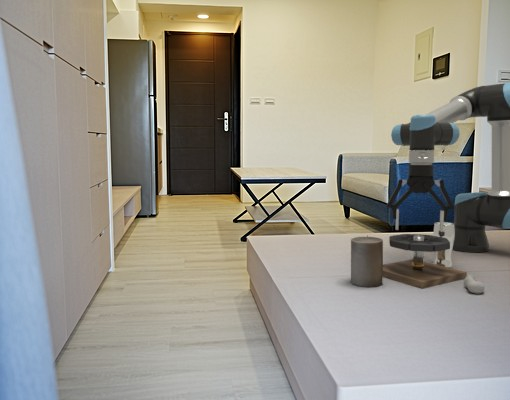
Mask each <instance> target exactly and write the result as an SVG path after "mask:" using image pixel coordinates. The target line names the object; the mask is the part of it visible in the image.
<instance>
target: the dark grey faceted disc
mask: <svg viewBox="0 0 510 400" xmlns="http://www.w3.org/2000/svg"><path fill="white" fill-rule="evenodd" d="M415 235H420V236H424V241H415V240H414V236H415ZM388 239H389V240H388V241H389V242H388V243H389V246H390V247H392V248H395V249H399V250H404V251H407V252H408V251H409V252H413V251H424V253H425V252H427V253H432V252H436V251H442V250H447V249H450V242H449V241H448V239H447V238H443V237H437V236H433V235H430V234H421V233H420V234H418V233H402V234H395V235H390V236H389V238H388Z"/></svg>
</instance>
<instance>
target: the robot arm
mask: <svg viewBox="0 0 510 400" xmlns="http://www.w3.org/2000/svg"><path fill="white" fill-rule="evenodd" d="M481 117H482V118H483V117H485V118H486V121H487V124H489V125H490V126H491V188H490V190H488V192H486V191H479V192H466V193H465V192H464V193H459V194H457V195H456V196H455V200H454V204H453V202H452V199H451V197H450V196H449V193H448V191H447V190H446V188H445V181H444V180H443V179H442V178H441V179H440V178H439V179H437V180H435V179H434V171H435V170H434V168H435V167H434V165H433V164H434V162H435V146H443V147H444V146H452V145H453V144H455V143H457V142H458V140H459V139H460V138H459V137H460V129H459V126H458V125H457V124H455V123H456V122H458V121H465V120H467V119H469V118H470V119H472V118H481ZM390 136H391V140H392V143H393V144H395V145H396V146H403V147H406V146H409V148H408V149H409V150H408V151H409V152H408V163H409V165H408V174H407V175H408V176H407V179H402V178H398V180H397V186H396V187H395V189H394V190H393V192H392V194H391V196H390V198H389V200H388V202H387V204H386V206H387V208H389V209H391V210H392V213H391V215H392V220H395V231H399V227H400V226H399V224H400V223H399V219H400V209H399V208H398V207H400V206H401V205H402V203H404V201H406V199H407V198H408V197H409V196H410V195H411V194H412V193H415V194H423V195H424V194H427V193H429V194H430V195H431V197H432V198H433V199H434V200H435V201H436V203H437V204H438V205H439V206H440V207H441V209H440V210H439V222H440V229H439V230H440V231H442V232H443V223H444V222H446V221H447V220H448V211H449V210H454V217H453V218H454V219H453V223H454V224H455V225H454V226H455V239H454V245H453V249H452V251H453V250H454V251H459V252H462V253H463V252H466V253H486V252H489V250H490V243H489V239H488V235H487V232H486V227H487V226H488V227H494V228H501V229H503V230H505V229H509V230H510V82H505V83H498V84H489V85H480V86H476V87H473V88H471V89H469V90H466V91H464V92H461V93H460V94H458V95H455V96H454V97H451V99H449V102H447V103H446V104H444V105H441V106H439V107H438V108H435V109H434V110H432V111H430V112H428V113H426V114H416V115H412V116H411V118H410V122H408V123H401V124H397V125H395V126H394V127H393V128H392V130H391V135H390ZM405 185H408V189H407V190H406V191H405V192H404V193H403V194H402V195H401V196H400V197H399V199H398V200H396V198H397V196H398V195H399V193H400V191H401V189H402V187H404V186H405ZM434 186H437V187H439V189H440V191H441V194H442V196H443V198H444V200H445V203H446V204H447V205H446V204H445V203H444V202H443V201H442V200H441V199H440V197H439V196H438V195H437V194H436V192H435V191H434V190H433V189H432V188H433V187H434ZM395 200H396V202H395ZM394 202H395V203H394Z"/></svg>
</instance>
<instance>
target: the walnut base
mask: <svg viewBox="0 0 510 400" xmlns="http://www.w3.org/2000/svg"><path fill="white" fill-rule="evenodd" d="M412 262H413V258H412V259H411V258H410V259H405V260H401V261H396V262H391V263H385V264H384V263H383V275H382V278H386V279H390V280H393V281H396V282H399V283H403V284H406V285H409V286H412V287H416V288H417V289H418V288H419V289H426V288H427V289H428V288H431V287H434V286H435V287H436V286H439V285H443V284H448V283H451V282H457V281H459V280H460V281H461V280H464V279H465V278H466V277H467V276H468V274H467V273H468V272H467V271H464V270H461V269H457V268H456V269H455V268H452V267H444V266H440V265H436V264H434V263H432V262H427V261H424V260H423V263H424V267H423V270H422V271H416V270H413V267H412Z"/></svg>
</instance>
